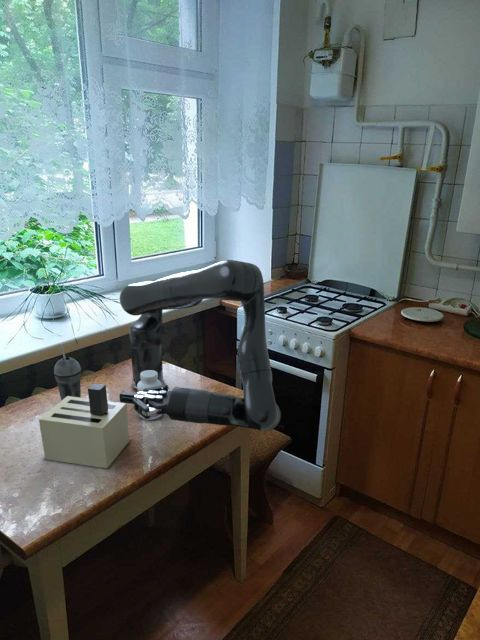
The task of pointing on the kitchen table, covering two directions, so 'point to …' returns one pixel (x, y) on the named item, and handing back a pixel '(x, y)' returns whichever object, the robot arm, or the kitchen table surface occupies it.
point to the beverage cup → (68, 376)
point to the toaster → (84, 433)
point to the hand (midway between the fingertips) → (121, 396)
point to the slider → (98, 399)
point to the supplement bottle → (149, 386)
